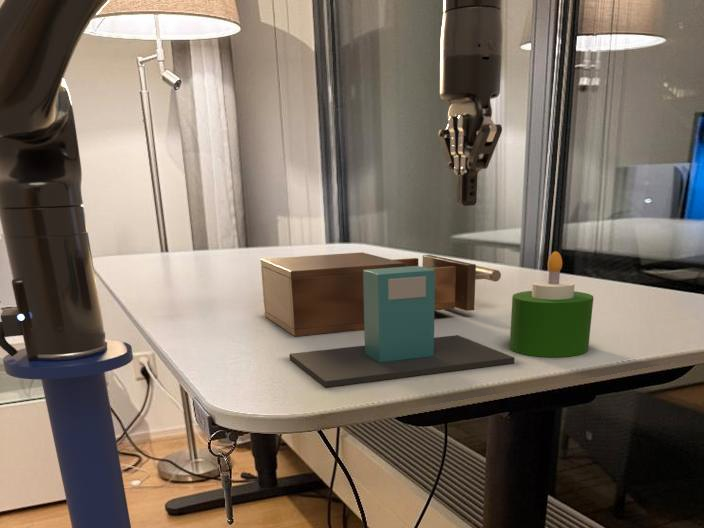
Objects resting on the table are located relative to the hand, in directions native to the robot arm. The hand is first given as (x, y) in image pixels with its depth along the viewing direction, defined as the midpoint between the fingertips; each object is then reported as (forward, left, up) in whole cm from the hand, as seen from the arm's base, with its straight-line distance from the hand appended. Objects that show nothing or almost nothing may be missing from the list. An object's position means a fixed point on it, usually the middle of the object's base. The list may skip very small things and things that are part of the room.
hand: (466, 205), depth 96 cm
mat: (-21, -24, -14) cm, 34 cm away
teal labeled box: (-21, -24, -13) cm, 34 cm away
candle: (-4, -26, -14) cm, 30 cm away
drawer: (-6, 0, -13) cm, 14 cm away
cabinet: (-20, 0, -14) cm, 24 cm away
